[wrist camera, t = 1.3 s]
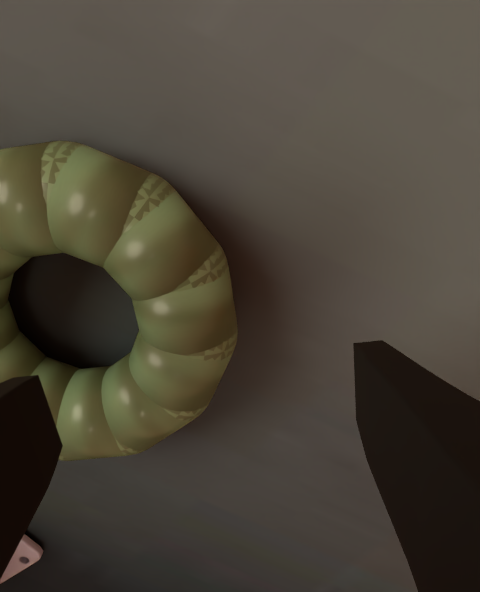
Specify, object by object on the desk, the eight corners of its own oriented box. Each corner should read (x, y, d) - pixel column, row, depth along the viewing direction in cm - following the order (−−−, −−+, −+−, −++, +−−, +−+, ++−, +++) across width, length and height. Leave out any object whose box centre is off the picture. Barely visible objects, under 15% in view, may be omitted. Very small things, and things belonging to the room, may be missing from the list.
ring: (88, 461, 21) (58, 525, 18) (-125, 271, 18) (-210, 306, 15) (295, 324, 18) (305, 370, 15) (87, 64, 15) (40, 49, 12)
